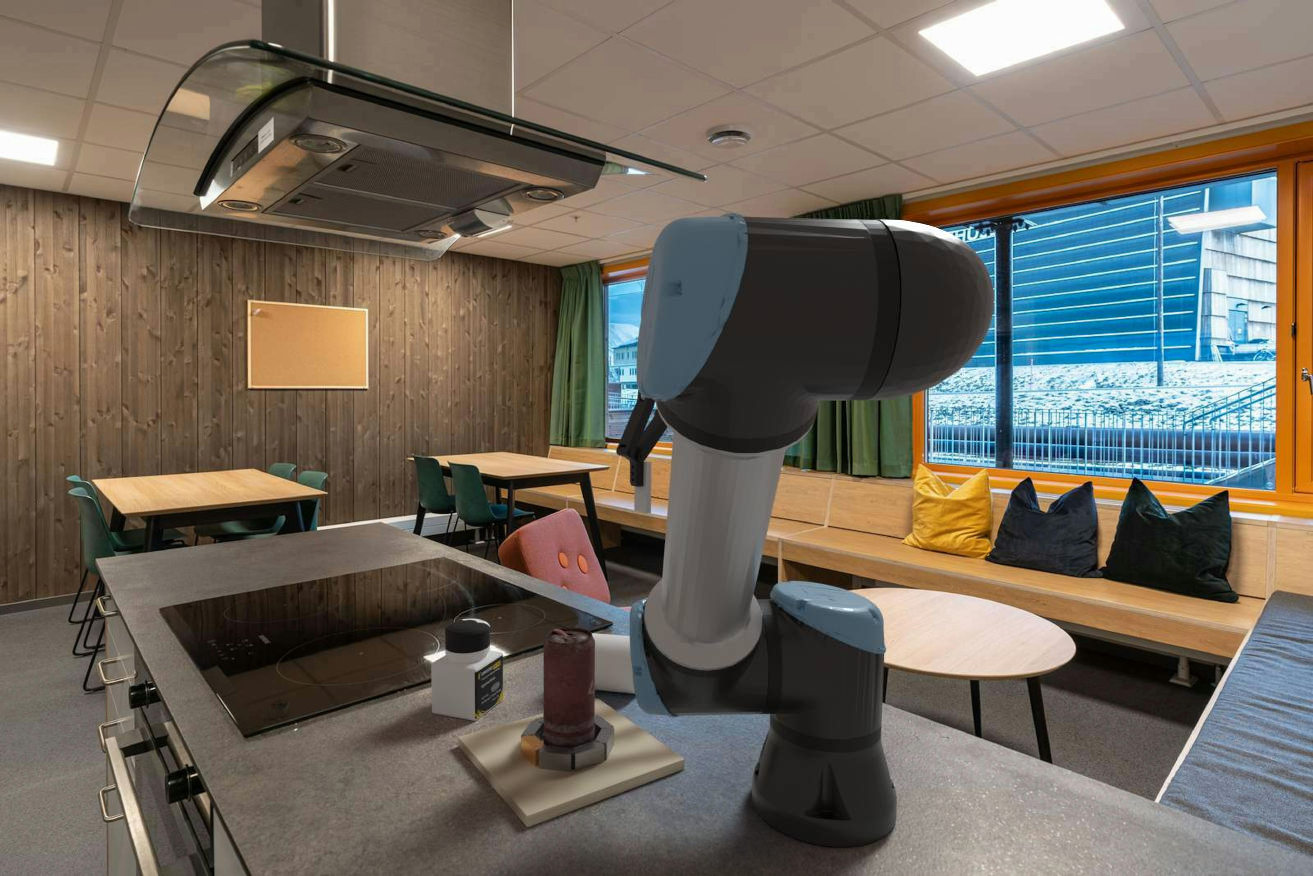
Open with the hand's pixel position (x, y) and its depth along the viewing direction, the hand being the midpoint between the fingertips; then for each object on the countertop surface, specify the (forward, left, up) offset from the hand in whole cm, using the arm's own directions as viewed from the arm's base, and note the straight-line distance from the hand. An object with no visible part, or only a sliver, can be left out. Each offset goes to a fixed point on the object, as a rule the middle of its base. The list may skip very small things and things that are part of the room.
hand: (684, 507), depth 95 cm
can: (-1, +18, -28) cm, 33 cm away
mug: (+15, +2, -29) cm, 33 cm away
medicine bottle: (+19, +23, -29) cm, 42 cm away
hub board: (-1, +18, -29) cm, 34 cm away
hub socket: (-1, +18, -27) cm, 33 cm away
